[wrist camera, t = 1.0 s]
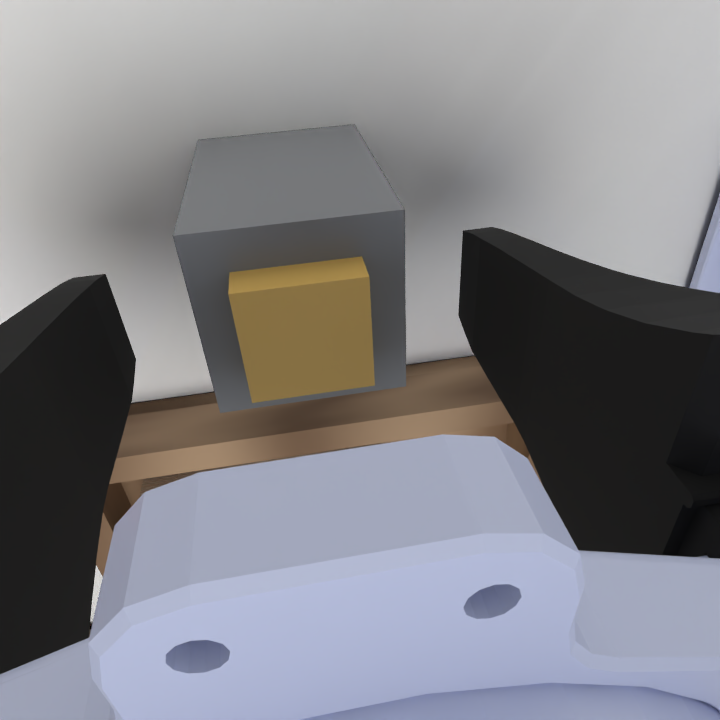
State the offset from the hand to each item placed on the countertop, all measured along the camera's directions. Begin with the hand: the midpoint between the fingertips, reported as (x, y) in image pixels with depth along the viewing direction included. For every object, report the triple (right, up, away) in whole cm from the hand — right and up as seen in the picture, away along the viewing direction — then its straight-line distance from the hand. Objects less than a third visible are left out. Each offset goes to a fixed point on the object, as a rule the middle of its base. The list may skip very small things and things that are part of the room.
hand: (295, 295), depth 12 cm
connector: (-1, +3, +4) cm, 5 cm away
